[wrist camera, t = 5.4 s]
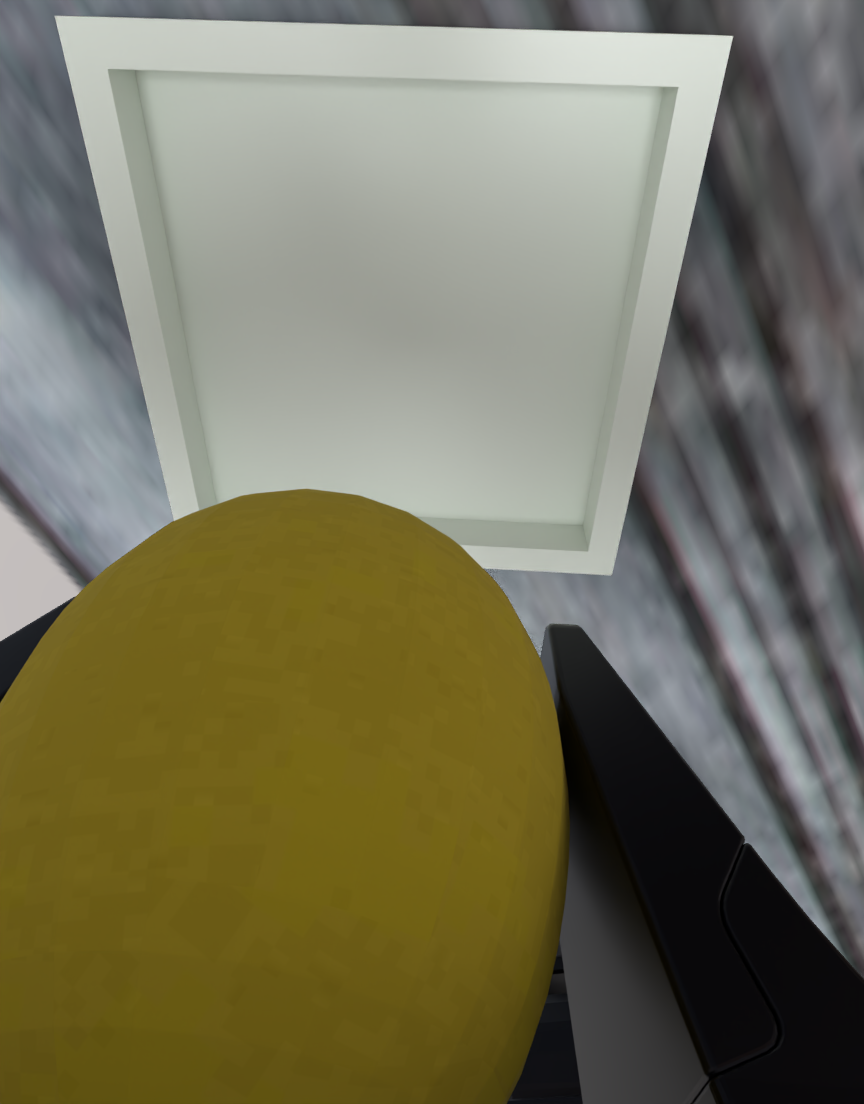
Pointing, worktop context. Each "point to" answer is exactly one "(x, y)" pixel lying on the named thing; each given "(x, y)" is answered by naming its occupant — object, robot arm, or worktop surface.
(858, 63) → the worktop surface
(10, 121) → the worktop surface
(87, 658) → the lemon
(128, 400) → the worktop surface
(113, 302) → the worktop surface
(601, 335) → the tray
